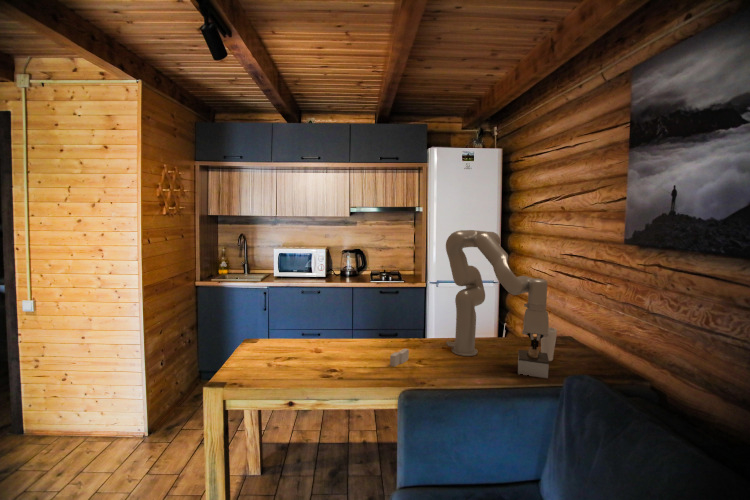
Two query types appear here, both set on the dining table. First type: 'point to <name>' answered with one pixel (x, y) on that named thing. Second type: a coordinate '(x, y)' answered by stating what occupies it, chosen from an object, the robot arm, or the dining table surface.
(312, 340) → the dining table surface
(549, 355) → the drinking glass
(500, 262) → the robot arm
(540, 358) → the collar block
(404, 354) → the grey grooved block
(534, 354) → the peg
